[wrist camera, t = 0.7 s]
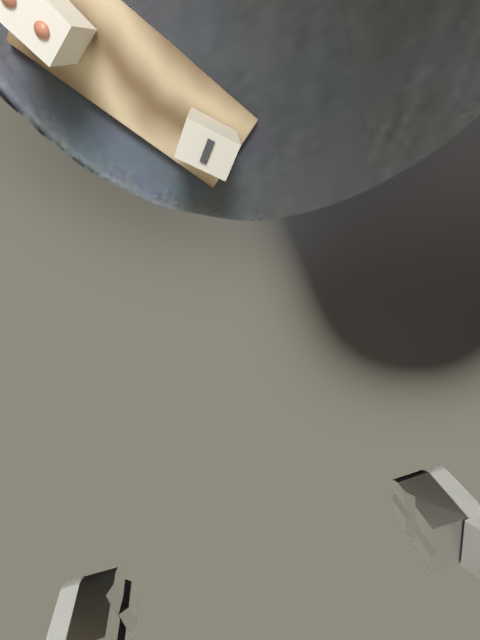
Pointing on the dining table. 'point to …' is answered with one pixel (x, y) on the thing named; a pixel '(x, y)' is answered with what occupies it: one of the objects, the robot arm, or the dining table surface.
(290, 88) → the dining table surface
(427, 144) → the dining table surface
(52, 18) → the tile two
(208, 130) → the tile one
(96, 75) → the digit board
